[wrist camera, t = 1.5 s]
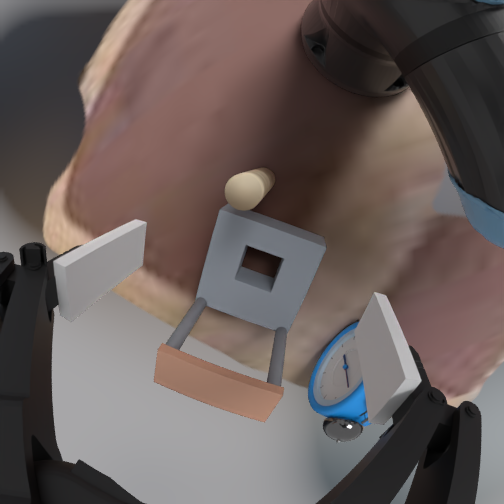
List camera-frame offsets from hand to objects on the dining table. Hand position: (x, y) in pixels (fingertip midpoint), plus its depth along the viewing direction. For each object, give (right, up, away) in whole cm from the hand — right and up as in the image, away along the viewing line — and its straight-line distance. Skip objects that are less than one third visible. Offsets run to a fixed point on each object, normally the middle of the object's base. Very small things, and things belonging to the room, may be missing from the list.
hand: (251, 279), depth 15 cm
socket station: (0, -2, +21) cm, 21 cm away
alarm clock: (+14, -12, +22) cm, 29 cm away
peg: (+1, +10, +17) cm, 20 cm away
